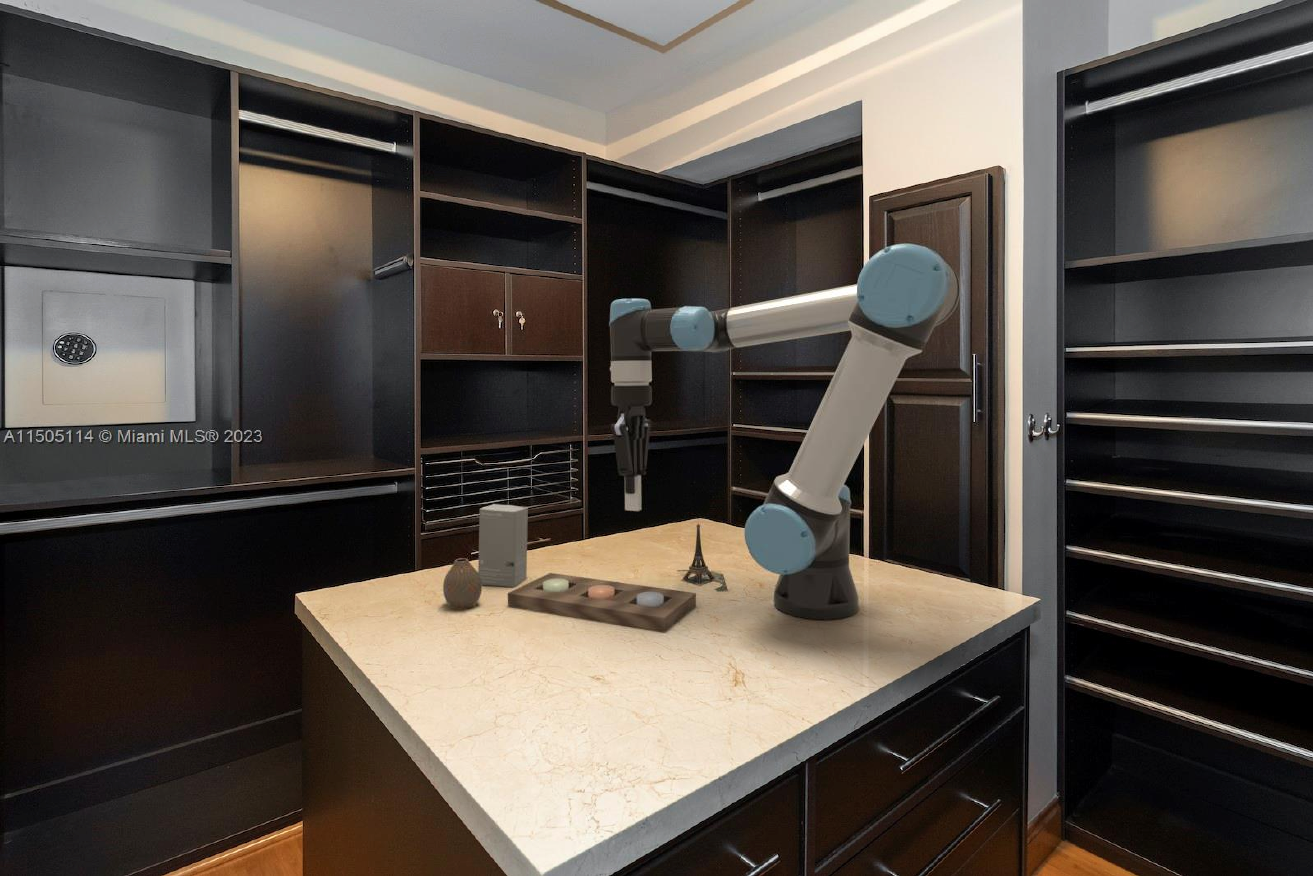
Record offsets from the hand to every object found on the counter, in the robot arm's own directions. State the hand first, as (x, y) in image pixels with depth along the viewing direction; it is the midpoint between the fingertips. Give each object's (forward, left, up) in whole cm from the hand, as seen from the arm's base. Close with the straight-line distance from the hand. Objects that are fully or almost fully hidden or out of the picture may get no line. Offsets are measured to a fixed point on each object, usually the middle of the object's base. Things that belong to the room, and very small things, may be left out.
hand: (633, 509), depth 131 cm
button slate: (-6, +6, -17) cm, 19 cm away
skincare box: (+30, +1, -18) cm, 35 cm away
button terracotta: (+4, +6, -17) cm, 18 cm away
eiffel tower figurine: (-7, -16, -18) cm, 25 cm away
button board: (+4, +6, -17) cm, 19 cm away
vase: (+28, +16, -18) cm, 37 cm away
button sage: (+14, +6, -17) cm, 23 cm away
